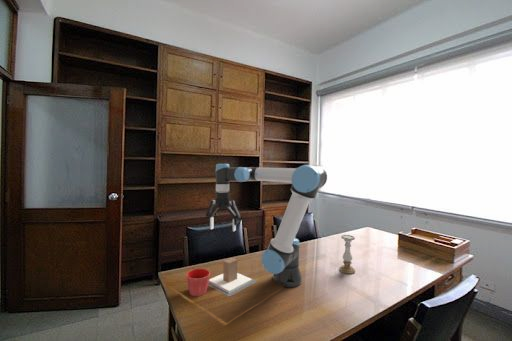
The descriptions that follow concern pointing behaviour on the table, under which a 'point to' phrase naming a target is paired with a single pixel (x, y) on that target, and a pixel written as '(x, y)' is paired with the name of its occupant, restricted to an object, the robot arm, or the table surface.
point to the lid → (230, 277)
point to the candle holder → (347, 255)
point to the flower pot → (198, 281)
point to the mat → (233, 291)
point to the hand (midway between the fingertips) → (222, 229)
